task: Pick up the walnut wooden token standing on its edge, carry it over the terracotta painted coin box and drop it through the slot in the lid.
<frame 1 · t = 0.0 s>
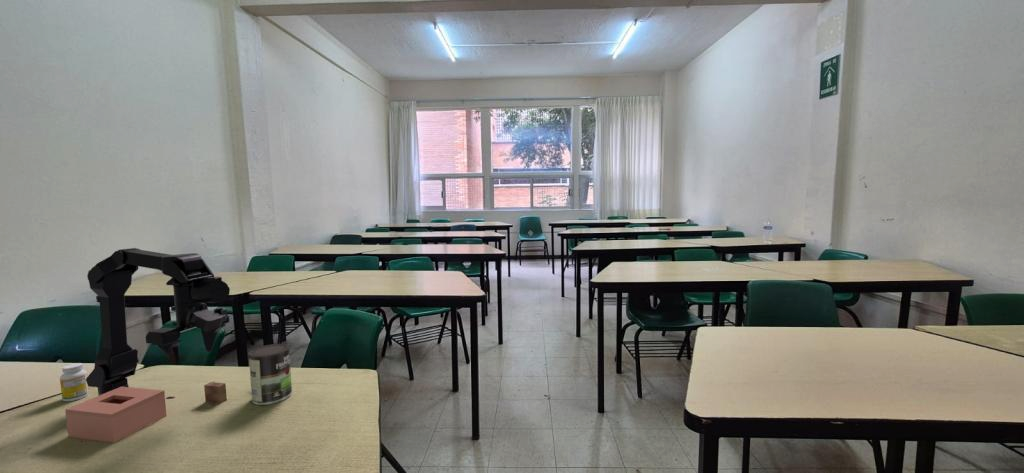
hand: (193, 357, 108), 15 cm above the table, tool pointing down, fingers open, 9 cm apart
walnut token: (216, 401, 115), on the table
coin box: (119, 425, 102), on the table
supplement bottle: (76, 398, 117), on the table
coffee can: (272, 397, 117), on the table
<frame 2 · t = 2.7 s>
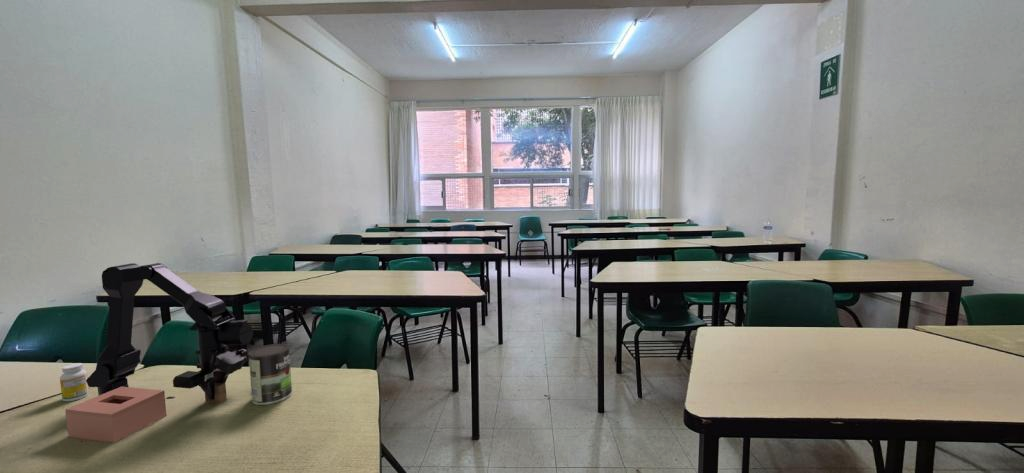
hand: (215, 397, 114), 1 cm above the table, tool pointing down, fingers closed on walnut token, 2 cm apart
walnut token: (216, 401, 115), on the table, touching gripper
everything else where it was.
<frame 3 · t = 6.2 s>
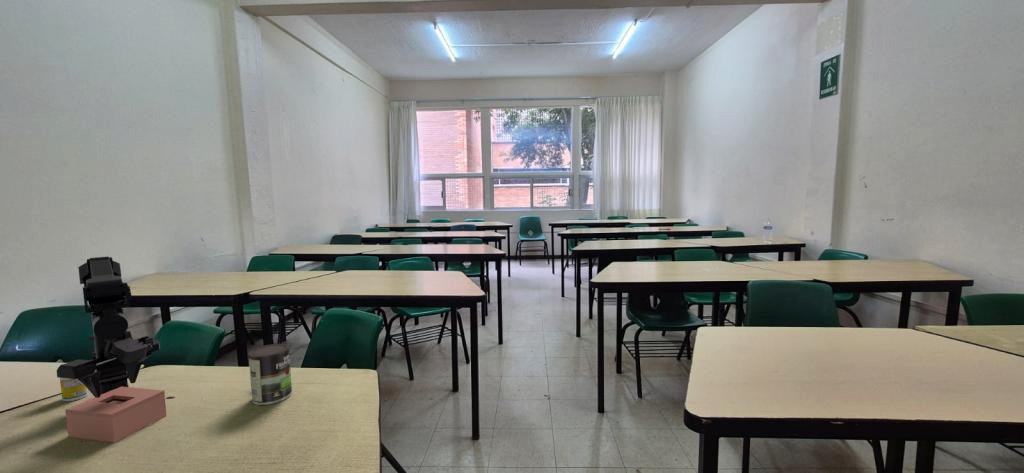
hand: (116, 389, 101), 10 cm above the table, tool pointing down, fingers open, 7 cm apart
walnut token: (119, 422, 102), point 1 cm above the table, touching coin box
everything else where it was.
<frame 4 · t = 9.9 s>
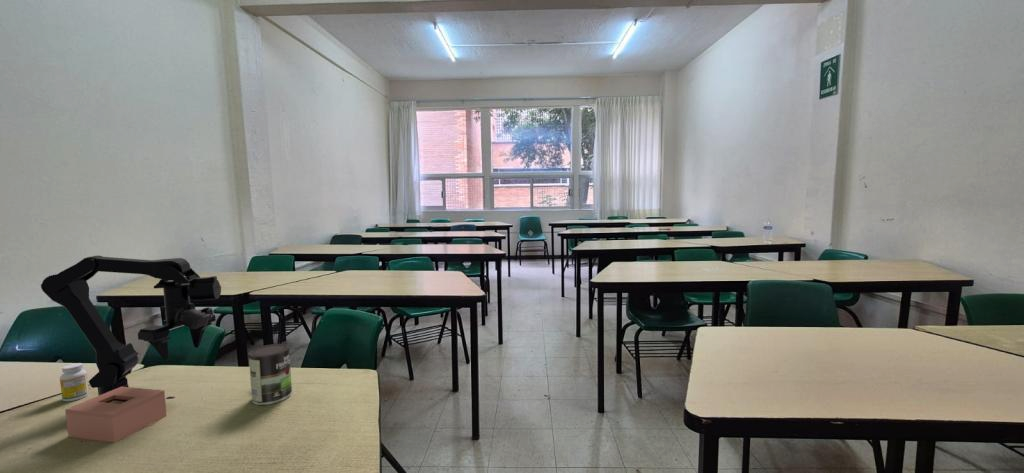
hand: (181, 353, 119), 12 cm above the table, tool pointing down, fingers open, 9 cm apart
nothing on the table moved.
at the end: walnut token inside the target area on the coin box (0.1 cm from its centre), point 1.0 cm above the coin box's base; the gripper is holding nothing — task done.
